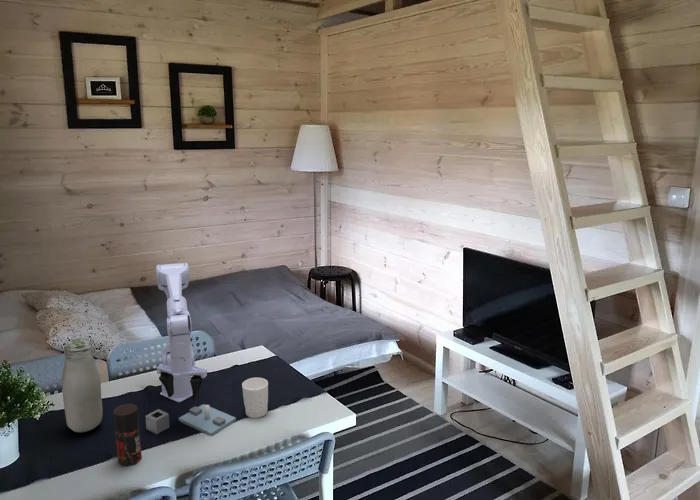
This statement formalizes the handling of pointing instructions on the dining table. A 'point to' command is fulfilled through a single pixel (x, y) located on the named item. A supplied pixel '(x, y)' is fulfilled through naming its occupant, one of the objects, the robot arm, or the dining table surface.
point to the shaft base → (207, 419)
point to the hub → (157, 421)
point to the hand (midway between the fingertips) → (183, 396)
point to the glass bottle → (81, 387)
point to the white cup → (255, 397)
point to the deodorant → (127, 434)
